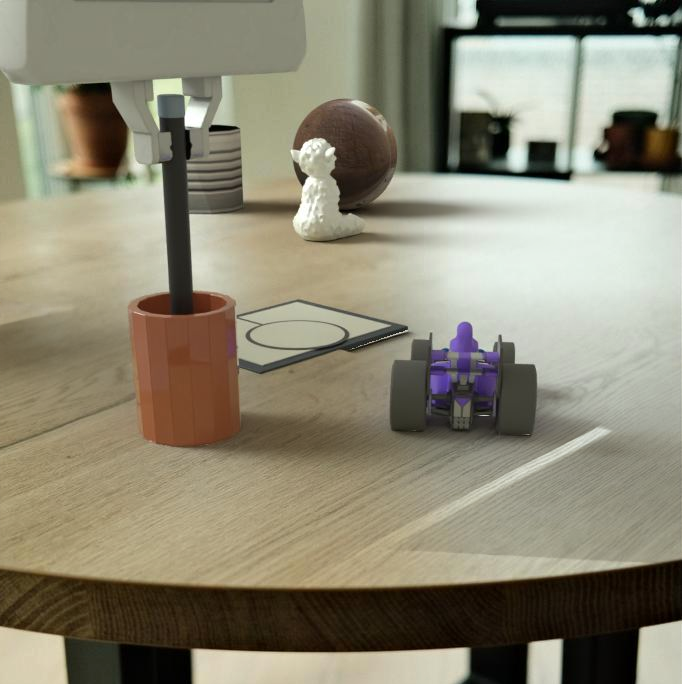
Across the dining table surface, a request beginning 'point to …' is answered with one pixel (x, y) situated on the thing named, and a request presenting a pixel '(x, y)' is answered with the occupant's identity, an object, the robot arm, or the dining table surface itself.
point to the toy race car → (463, 385)
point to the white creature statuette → (321, 196)
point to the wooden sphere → (352, 149)
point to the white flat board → (302, 333)
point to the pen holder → (186, 369)
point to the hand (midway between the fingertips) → (173, 161)
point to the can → (217, 174)
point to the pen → (177, 205)
